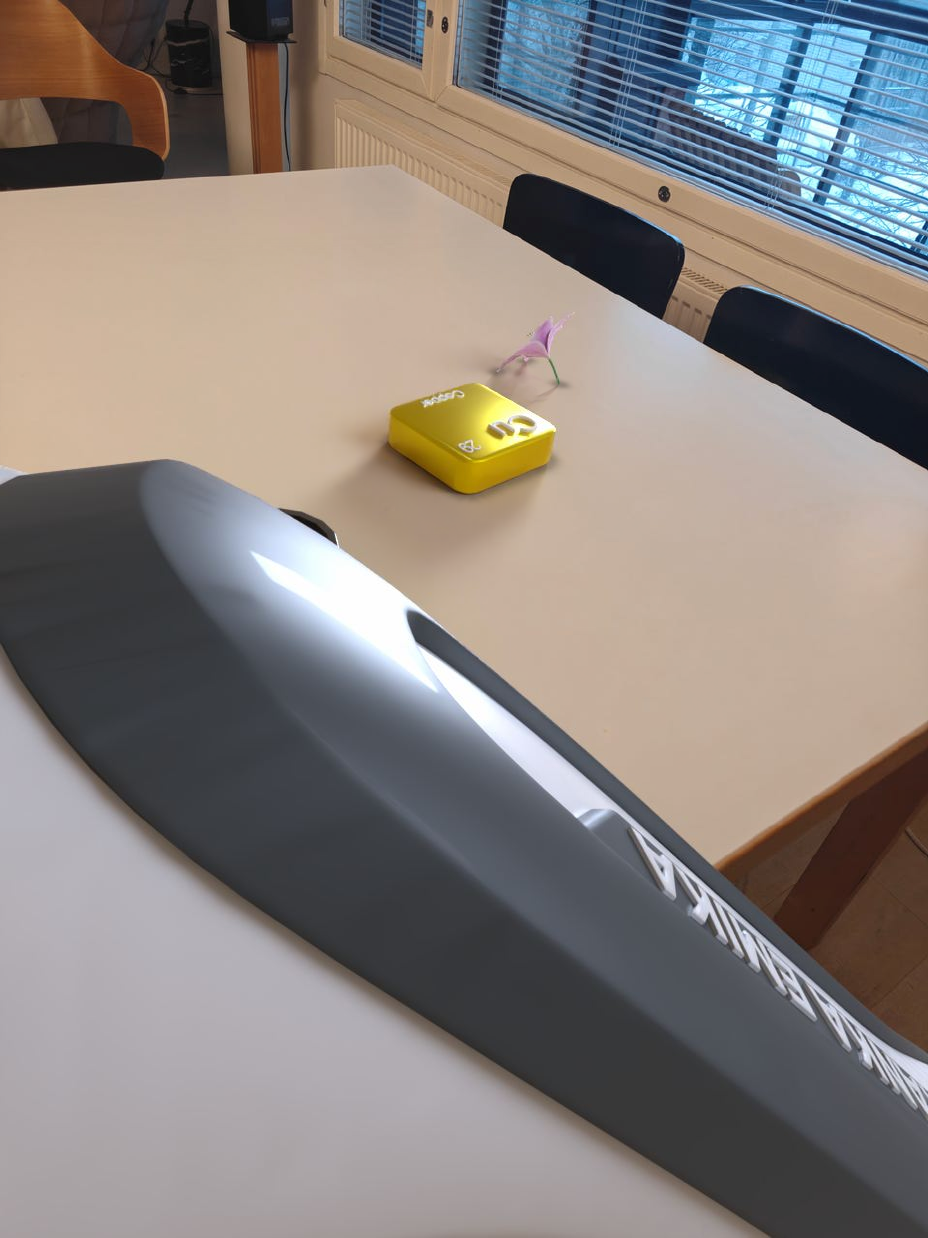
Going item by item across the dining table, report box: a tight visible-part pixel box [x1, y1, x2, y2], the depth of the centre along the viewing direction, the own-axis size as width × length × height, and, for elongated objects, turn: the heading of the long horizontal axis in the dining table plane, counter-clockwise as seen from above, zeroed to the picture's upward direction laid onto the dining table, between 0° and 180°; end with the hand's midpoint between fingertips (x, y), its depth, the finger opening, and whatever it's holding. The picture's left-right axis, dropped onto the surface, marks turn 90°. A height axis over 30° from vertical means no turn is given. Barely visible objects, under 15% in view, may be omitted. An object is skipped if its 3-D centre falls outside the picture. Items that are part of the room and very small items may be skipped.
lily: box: [495, 311, 576, 385], centre depth 118 cm, size 12×12×10 cm
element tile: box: [387, 382, 556, 495], centre depth 101 cm, size 15×15×5 cm
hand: (424, 873), depth 39 cm, fingers open, 8 cm apart
